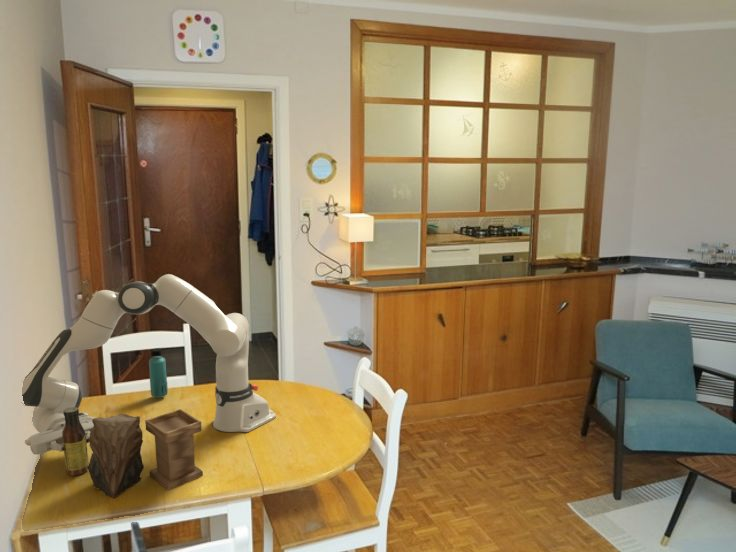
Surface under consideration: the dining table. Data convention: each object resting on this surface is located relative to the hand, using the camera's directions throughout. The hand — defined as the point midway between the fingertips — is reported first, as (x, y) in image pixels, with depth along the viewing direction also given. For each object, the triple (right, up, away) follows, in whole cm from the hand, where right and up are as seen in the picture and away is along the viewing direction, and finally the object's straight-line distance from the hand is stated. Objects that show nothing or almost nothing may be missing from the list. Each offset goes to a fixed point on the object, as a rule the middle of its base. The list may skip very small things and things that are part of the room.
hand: (76, 444), depth 177 cm
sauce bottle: (-1, -9, +2) cm, 9 cm away
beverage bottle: (+5, +2, +57) cm, 57 cm away
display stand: (+30, -9, +1) cm, 31 cm away
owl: (+14, -11, -5) cm, 18 cm away
